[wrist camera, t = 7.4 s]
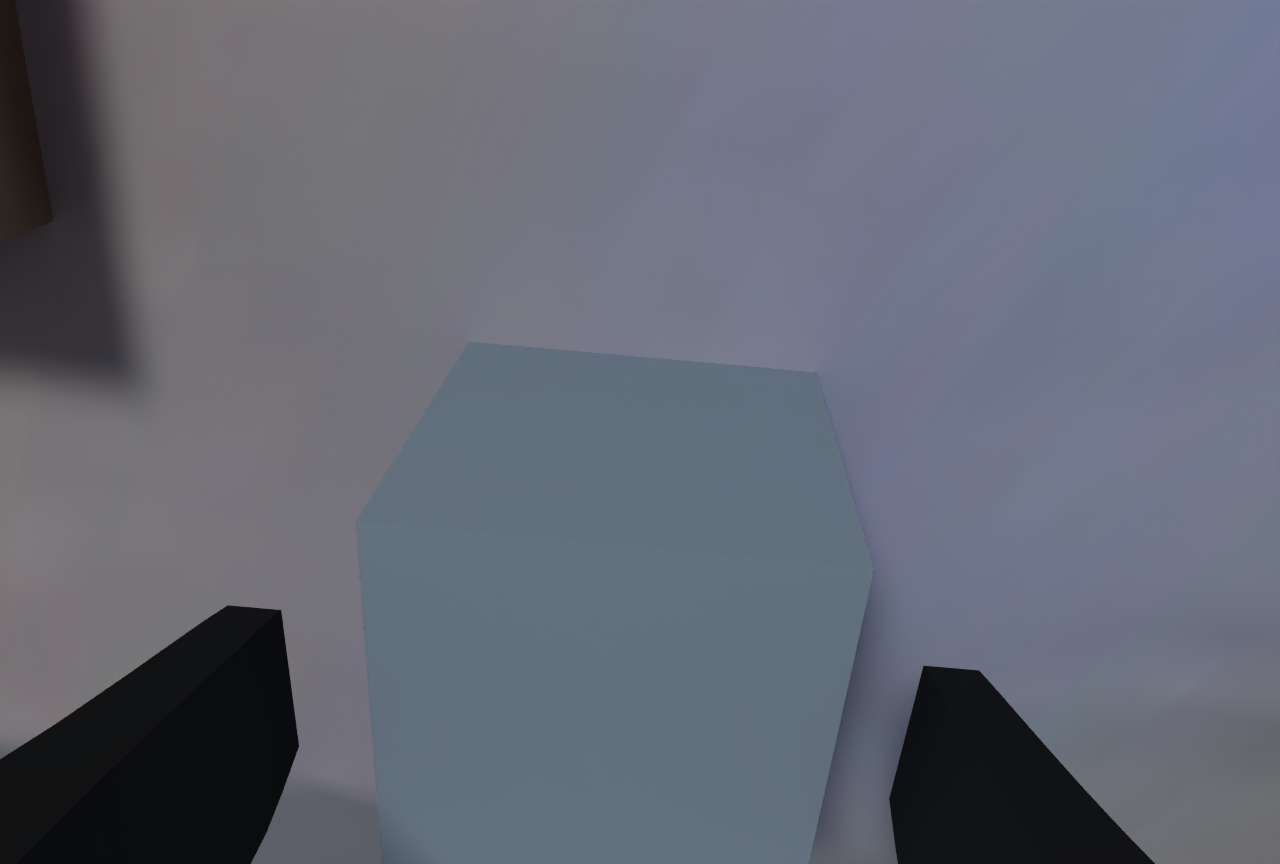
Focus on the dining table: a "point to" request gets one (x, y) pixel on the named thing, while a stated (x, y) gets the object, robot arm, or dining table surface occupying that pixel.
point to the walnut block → (18, 137)
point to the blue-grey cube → (610, 613)
